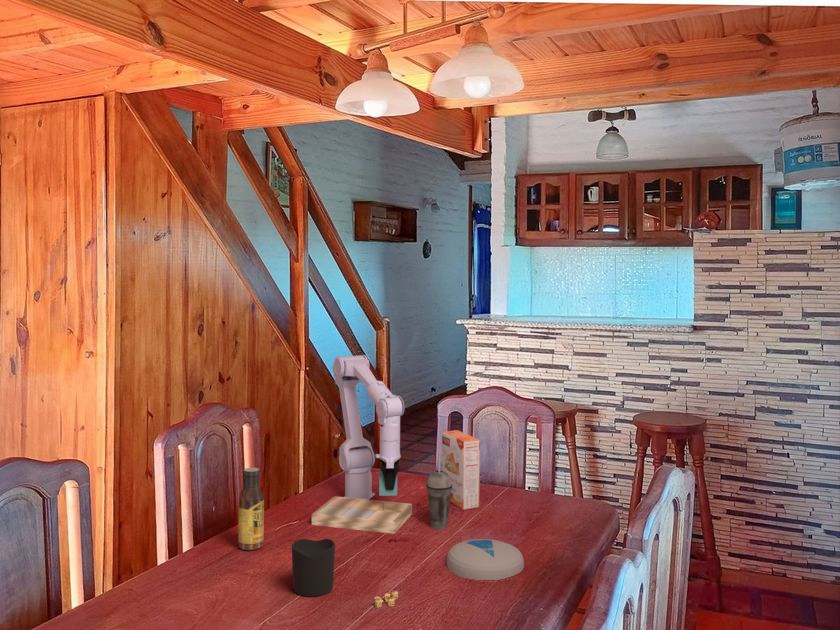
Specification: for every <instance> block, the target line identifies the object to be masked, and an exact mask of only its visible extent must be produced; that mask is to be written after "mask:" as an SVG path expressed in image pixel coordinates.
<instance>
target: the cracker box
mask: <svg viewBox="0 0 840 630" xmlns="http://www.w3.org/2000/svg"><path fill="white" fill-rule="evenodd" d="M441 434H442V436H441V438H442V440H441V443H442V444H441V447H442V448H441V451H442V452H441V455H442V456H441V459H442V460H441V471H444V472H446V473H447V474H448V475H449V476H450V478H451V481H452V486H453V487H452V491H451V494H450V503H451V504H453V505H455V507H457V508H459V509H461V510H462V511H466V510H468V511H469V510H473V509H479V508H480V463H481V462H480V461H481V459H480V458H481V457H480V456H481V452H480V451H481V450H480V449H481V443H480V441H481V440H480V439H478V438H476V437H474V436H472V435H470V434H468V433H465V432H463V431H462V430H459V429H457V430H456V429H454V430H445V431H442V432H441Z"/></svg>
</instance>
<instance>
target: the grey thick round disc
mask: <svg viewBox="0 0 840 630" xmlns="http://www.w3.org/2000/svg"><path fill="white" fill-rule="evenodd" d="M446 567H447V569H448V571H450V573H452V574H454V575H456V576H458V577H461V578H463V577H464V578H463V579H467V578H468V580H471V579H475V580H474V581H477V580H500V579H505V578H508V577H511V576H514V575H516V574H518V573H520V572H521V571H522V570H523V568H524V569H525V560H524V556H523V554H522V551H520V550H519V548H517V547H516V546H514V545H512V544H511V543H510V544H509V543H507V542H504V541H500V540H497V539H489V538H479V539H478V538H475V539H468V540H465V541H461V542H458V543H456V544H454V545H453V546H452V547H451V549H450V550H448V553H447V555H446ZM523 571H524V570H523Z"/></svg>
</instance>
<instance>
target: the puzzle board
mask: <svg viewBox="0 0 840 630" xmlns="http://www.w3.org/2000/svg"><path fill="white" fill-rule="evenodd" d="M412 514H413V504H412V503H406V502H405V503H404V502H398V501H397V502H396V501H395V502H394V501H385V500H376V499H375V500H374V499H369V500H366V499H356V498H346V497H344V496H337V495H335V496H332V497H331V498H330V499H329V500H328V501H327V502H325V503H323V504H322V505H321V506H320V507H319V508H317V509H316V510H315V511H314V512H312V513H311V525H313V526H321V527H329V528H337V529H347V530H356V531H357V530H358V531H364V532H375V533H381V534H382V533H383V534H393V535H395V534H396V533H397V532H398V531H399V529H400V528H401V527H402V526H404V524H405V523H406V522H407V520H409V518H410V517H411V516H412Z"/></svg>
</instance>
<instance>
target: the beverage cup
mask: <svg viewBox="0 0 840 630" xmlns="http://www.w3.org/2000/svg"><path fill="white" fill-rule="evenodd" d="M437 458H438V461H437V462H438V463H437V464H438V465H437V467H438V470H434V471H433V472H431V474H429V476H428V478H427V480H426V484H425V487H426V492H427V499H428V510H429V512H428V513H429V514H428V515H429V522H430V528H431V529H433V530H437V531H438V530H439V531H440V530H441V531H442V530H446V529H447V528H448V523H449V515H450V503H451V502H450V494H451V491H452V487H453V486H452V481H451V478H450V476H449V475H448V474H447V473H446V472H444V471H442V469H441V456H440V455H438V456H437Z"/></svg>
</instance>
